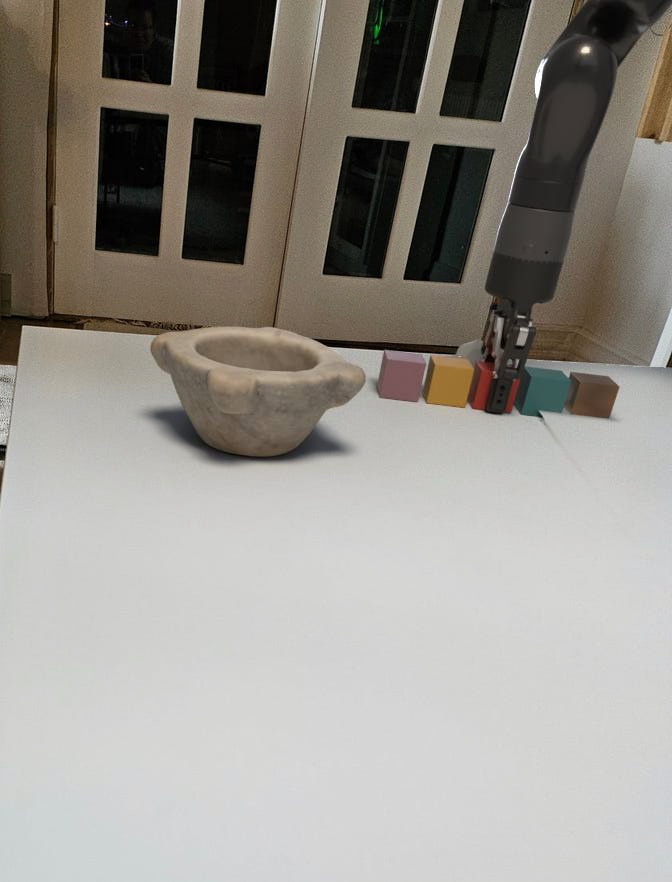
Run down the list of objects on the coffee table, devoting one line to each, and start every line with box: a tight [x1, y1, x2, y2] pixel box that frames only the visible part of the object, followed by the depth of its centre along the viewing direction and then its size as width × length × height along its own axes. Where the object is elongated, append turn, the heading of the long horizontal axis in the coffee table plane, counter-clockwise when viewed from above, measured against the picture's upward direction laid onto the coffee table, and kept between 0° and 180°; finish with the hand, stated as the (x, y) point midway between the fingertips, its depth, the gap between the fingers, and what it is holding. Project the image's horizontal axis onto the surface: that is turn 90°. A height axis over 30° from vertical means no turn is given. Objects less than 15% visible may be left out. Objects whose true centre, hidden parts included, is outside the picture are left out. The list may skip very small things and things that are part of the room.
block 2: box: [422, 354, 474, 409], centre depth 110 cm, size 4×4×4 cm
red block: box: [467, 361, 520, 414], centre depth 110 cm, size 4×4×4 cm
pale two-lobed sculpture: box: [452, 338, 483, 368], centre depth 124 cm, size 4×8×5 cm
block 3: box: [513, 365, 571, 418], centre depth 110 cm, size 4×4×4 cm
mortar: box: [149, 326, 366, 457], centre depth 90 cm, size 17×17×9 cm
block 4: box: [563, 371, 621, 420], centre depth 110 cm, size 4×4×4 cm
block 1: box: [376, 349, 427, 403], centre depth 111 cm, size 4×4×4 cm
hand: (489, 403), depth 111 cm, fingers open, 5 cm apart
